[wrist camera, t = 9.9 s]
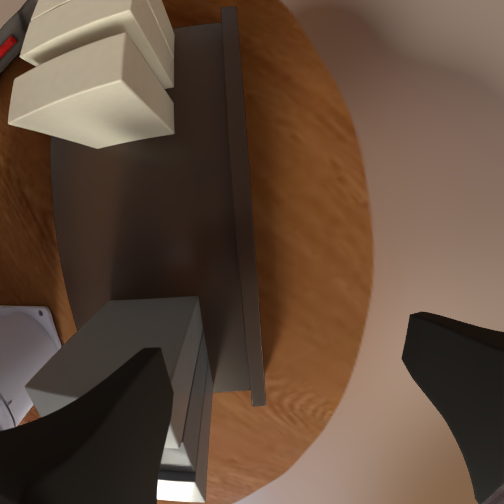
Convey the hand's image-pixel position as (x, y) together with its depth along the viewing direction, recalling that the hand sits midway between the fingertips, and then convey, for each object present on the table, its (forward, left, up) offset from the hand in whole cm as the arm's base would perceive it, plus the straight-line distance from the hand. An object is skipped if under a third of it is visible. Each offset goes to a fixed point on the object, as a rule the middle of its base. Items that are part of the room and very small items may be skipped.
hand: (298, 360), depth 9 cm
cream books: (-8, +15, -9) cm, 19 cm away
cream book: (-8, +11, -9) cm, 16 cm away
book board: (-8, +5, -10) cm, 14 cm away
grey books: (-8, -4, -9) cm, 13 cm away
